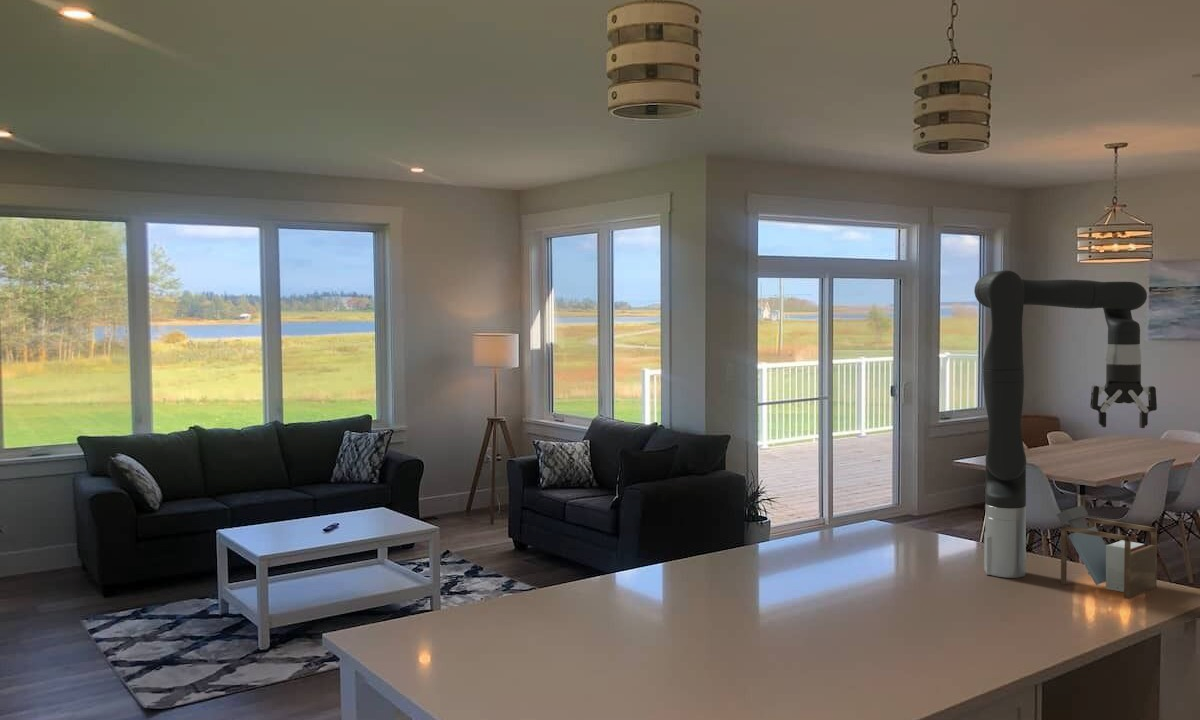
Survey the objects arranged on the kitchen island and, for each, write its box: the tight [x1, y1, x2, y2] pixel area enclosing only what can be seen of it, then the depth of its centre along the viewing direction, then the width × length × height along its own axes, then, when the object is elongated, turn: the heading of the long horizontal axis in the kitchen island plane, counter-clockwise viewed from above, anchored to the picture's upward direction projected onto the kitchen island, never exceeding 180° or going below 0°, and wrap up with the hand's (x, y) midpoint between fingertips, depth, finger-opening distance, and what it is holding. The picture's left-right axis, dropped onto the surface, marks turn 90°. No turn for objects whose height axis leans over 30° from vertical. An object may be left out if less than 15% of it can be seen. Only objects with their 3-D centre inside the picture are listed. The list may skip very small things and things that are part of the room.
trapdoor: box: [1056, 504, 1107, 586], centre depth 221 cm, size 18×12×3 cm
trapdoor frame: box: [1060, 517, 1158, 599], centre depth 218 cm, size 15×15×14 cm
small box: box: [1105, 540, 1146, 593], centre depth 215 cm, size 8×6×10 cm
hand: (1122, 427), depth 229 cm, fingers open, 8 cm apart
